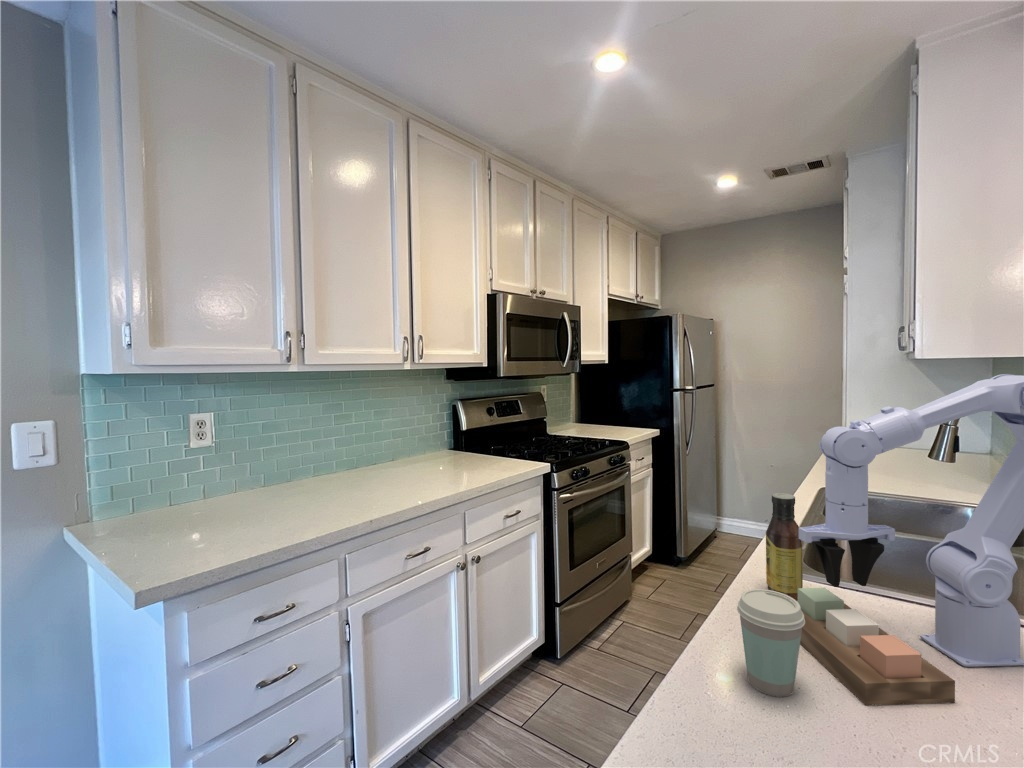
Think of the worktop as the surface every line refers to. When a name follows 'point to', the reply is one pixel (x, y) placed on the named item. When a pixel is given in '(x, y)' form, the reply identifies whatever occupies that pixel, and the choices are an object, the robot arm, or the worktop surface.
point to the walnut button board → (873, 671)
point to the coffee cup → (771, 639)
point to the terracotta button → (890, 656)
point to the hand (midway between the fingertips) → (846, 583)
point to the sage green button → (818, 602)
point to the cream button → (849, 626)
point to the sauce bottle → (783, 548)
